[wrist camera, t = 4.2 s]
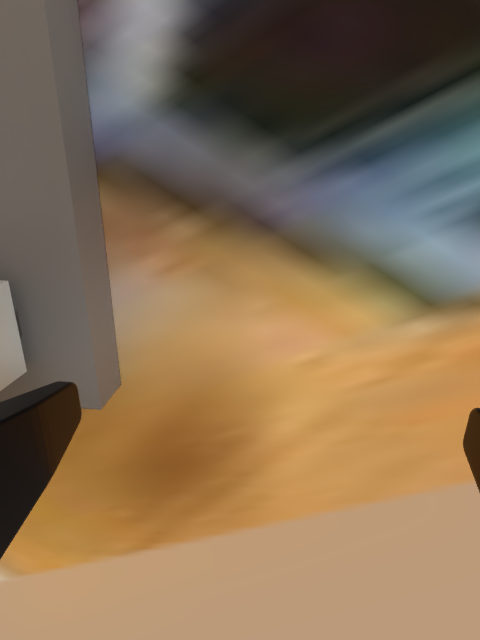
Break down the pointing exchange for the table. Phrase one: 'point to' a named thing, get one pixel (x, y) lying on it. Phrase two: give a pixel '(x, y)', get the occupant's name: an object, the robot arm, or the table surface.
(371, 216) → the table surface
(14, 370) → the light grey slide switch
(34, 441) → the robot arm
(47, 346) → the control panel
